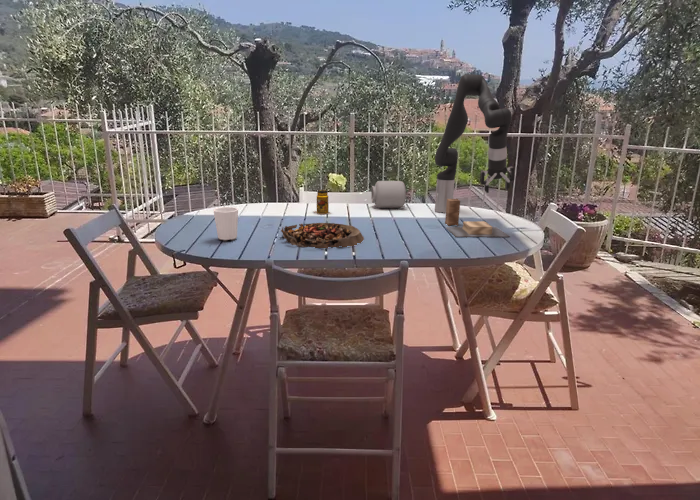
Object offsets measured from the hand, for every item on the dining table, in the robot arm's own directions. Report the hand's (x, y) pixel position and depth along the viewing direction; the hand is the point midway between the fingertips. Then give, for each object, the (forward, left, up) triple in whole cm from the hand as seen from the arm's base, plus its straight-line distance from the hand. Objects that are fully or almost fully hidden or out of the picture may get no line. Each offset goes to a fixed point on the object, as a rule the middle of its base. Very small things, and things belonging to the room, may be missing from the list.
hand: (496, 190), depth 216 cm
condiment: (-84, +19, -19) cm, 88 cm away
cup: (-110, -40, -19) cm, 119 cm away
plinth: (-7, -3, -19) cm, 20 cm away
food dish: (-72, -29, -20) cm, 80 cm away
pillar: (-18, +10, -19) cm, 28 cm away
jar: (-55, +38, -19) cm, 70 cm away
